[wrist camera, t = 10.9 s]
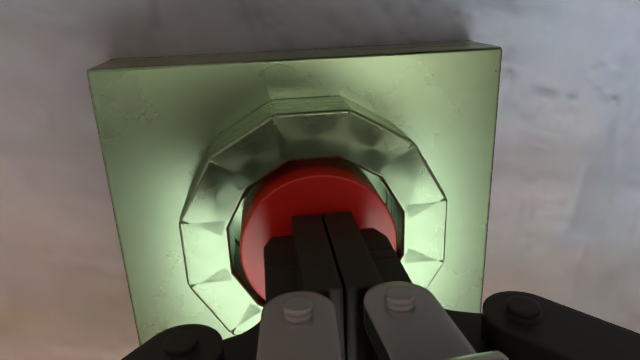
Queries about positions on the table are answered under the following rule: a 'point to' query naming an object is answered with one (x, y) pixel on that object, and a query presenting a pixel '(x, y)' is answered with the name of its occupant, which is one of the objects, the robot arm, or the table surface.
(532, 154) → the table surface
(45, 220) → the table surface
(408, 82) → the box
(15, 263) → the table surface
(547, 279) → the table surface
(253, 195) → the button
